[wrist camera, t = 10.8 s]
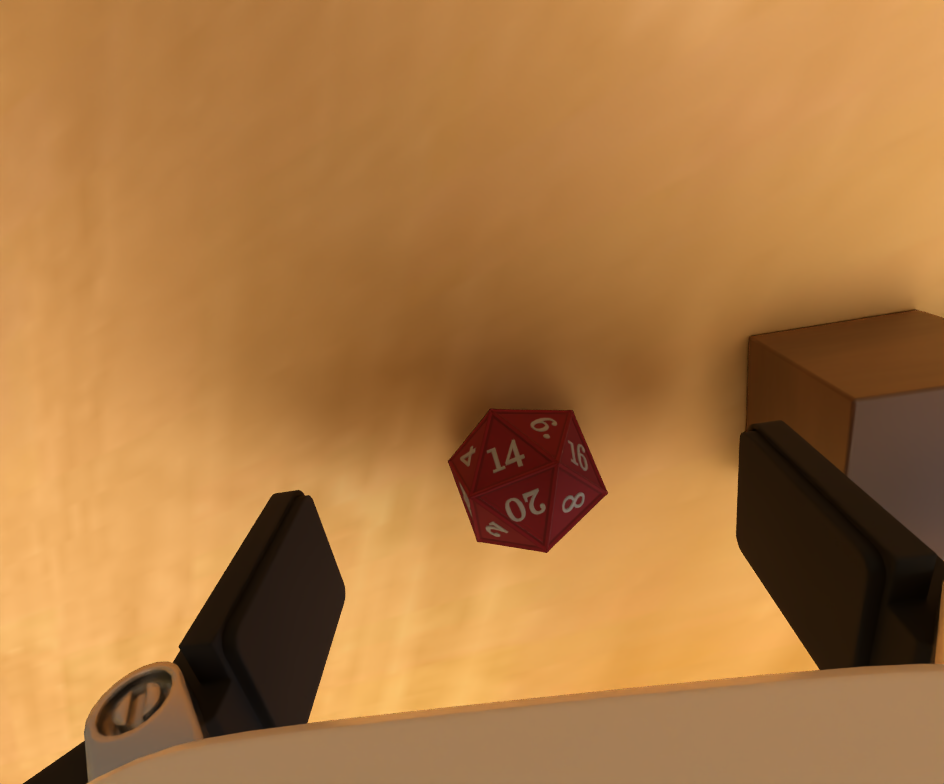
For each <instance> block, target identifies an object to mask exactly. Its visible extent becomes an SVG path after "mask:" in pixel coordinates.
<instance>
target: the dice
mask: <svg viewBox="0 0 944 784" xmlns="http://www.w3.org/2000/svg"><path fill="white" fill-rule="evenodd" d="M448 463H449V466H450V468H451V471H452V474H453V476H454V479H455V482H456V484H457V487H458V490H459V493H460V495H461V498H462V501H463V504H464V506H465V509H466V512H467V514H468V517H469V520H470V523H471V525H472V528H473V531H474V533H475V536H476V540H477V542H484V543H490V544H496V545H502V546H509V547H515V548H521V549H527V550H534V551H540V552H545V553H547V552H548V551H549V550H550V549H551V548H552V547H553V546H554V545H555V544H556V543H557V542H558V541H559V540H560V539H561V538H562V537H563V536H564V535H565V534H566V533H568V532H569V531H570V530H571V529H572V528H573V527H574V526H575V525H576V524H577V523H578V522H579V521H580V520H581V519H582V518H583V517H584V516H585V515H586V514H587V513H588V512H589V511H590V510H591V509H592V508H593V507H594V506H595V505H596V504H597V503H598V502H599V501H600V500H601V499H602V498H603V497H605V496H606V495H607V494H608V492H607V490H606V488H605V485H604V483H603V481H602V478H601V476H600V474H599V471H598V469H597V467H596V464H595V462H594V460H593V457H592V455H591V453H590V450H589V448H588V446H587V443H586V441H585V439H584V436H583V434H582V432H581V429H580V427H579V424H578V422H577V420H576V417H575V415H574V412H573V410H510V409H489V411H488V413H487V414H486V415H485V416H484V418H483V419H482V420H481V421H480V423H479V424H478V425H477V426H476V428H475V429H474V430H473V431H472V433H471V434H470V435H469V436H468V437H467V439H466V440H465V441H464V442H463V444H462V445H461V446H460V447H459V449H458V450H457V451H456V452H455V454H454V455H453V456H452V457H451V458H450V459H449V460H448Z"/></svg>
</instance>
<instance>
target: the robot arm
mask: <svg viewBox="0 0 944 784" xmlns="http://www.w3.org/2000/svg"><path fill="white" fill-rule="evenodd" d="M736 537H737V542H738V545H739V548H740V550H741V552H742V553H743V555H744V556H745V558H746V559H747V561H748V562H749V564H750V565H751V567H752V568H753V570H754V571H755V573H756V574H757V576H758V577H759V579H760V580H761V582H762V583H763V585H764V586H765V588H766V589H767V591H768V592H769V594H770V595H771V597H772V598H773V600H774V602H775V603H776V605H777V606H778V608H779V609H780V611H781V612H782V614H783V615H784V617H785V618H786V620H787V621H788V623H789V624H790V626H791V627H792V629H793V630H794V632H795V633H796V635H797V636H798V638H799V639H800V641H801V642H802V644H803V645H804V647H805V648H806V650H807V651H808V653H809V654H810V656H811V657H812V659H813V660H814V662H815V663H816V665H817V666H818V668H819V669H820V670H815V671H803V672H791V673H779V674H767V675H757V676H747V677H737V678H727V679H717V680H707V681H697V682H687V683H677V684H667V685H657V686H647V687H637V688H626V689H617V690H607V691H598V692H588V693H579V694H569V695H559V696H550V697H540V698H531V699H521V700H512V701H503V702H493V703H484V704H474V705H465V706H456V707H447V708H438V709H429V710H420V711H411V712H402V713H393V714H384V715H375V716H366V717H357V718H348V719H339V720H330V721H322V722H314V723H307V722H308V719H309V716H310V713H311V709H312V706H313V703H314V700H315V696H316V693H317V690H318V686H319V683H320V680H321V677H322V673H323V670H324V667H325V664H326V660H327V657H328V654H329V651H330V647H331V644H332V641H333V637H334V634H335V631H336V628H337V624H338V621H339V618H340V615H341V611H342V608H343V605H344V601H345V586H344V582H343V580H342V577H341V574H340V572H339V569H338V566H337V564H336V561H335V558H334V556H333V553H332V550H331V547H330V545H329V542H328V539H327V537H326V534H325V531H324V529H323V526H322V523H321V520H320V518H319V515H318V512H317V510H316V507H315V504H314V502H313V499H312V498H311V497H310V496H309V495H306V496H305V495H304V493H303V492H302V491H300V490H296V491H289V492H282V493H276V494H273V495H272V496H271V498H270V499H269V501H268V503H267V504H266V506H265V507H264V509H263V511H262V512H261V514H260V516H259V517H258V519H257V520H256V522H255V524H254V525H253V527H252V528H251V530H250V532H249V533H248V535H247V537H246V538H245V540H244V541H243V543H242V545H241V546H240V548H239V550H238V551H237V553H236V554H235V556H234V558H233V559H232V561H231V563H230V564H229V566H228V567H227V569H226V571H225V572H224V574H223V575H222V577H221V579H220V580H219V582H218V584H217V585H216V587H215V588H214V590H213V592H212V593H211V595H210V597H209V598H208V600H207V601H206V603H205V605H204V606H203V608H202V609H201V611H200V613H199V614H198V616H197V618H196V619H195V621H194V622H193V624H192V626H191V627H190V629H189V631H188V632H187V634H186V635H185V637H184V639H183V640H182V642H181V643H180V645H179V648H180V652H179V653H178V655H177V656H176V658H175V660H174V661H173V663H171V662H156V663H152V664H149V665H146V666H143V667H141V668H139V669H137V670H135V671H133V672H131V673H129V674H128V675H126V676H125V677H124V678H122V679H121V680H119V681H118V682H116V683H115V684H114V685H113V686H112V687H111V688H110V689H109V690H108V691H107V692H106V693H104V694H103V695H102V697H101V698H100V699H99V701H98V702H97V703H96V704H95V706H94V707H93V708H92V710H91V712H90V714H89V716H88V718H87V720H86V724H85V731H84V737H85V741H84V742H82V743H81V744H79V745H78V746H76V747H75V748H74V749H72V750H71V751H69V752H68V753H66V754H65V755H64V756H62V757H61V758H59V759H58V760H56V761H55V762H53V763H52V764H51V765H49V766H48V767H46V768H45V769H43V770H42V771H41V772H39V773H38V774H36V775H35V776H33V777H32V778H30V779H29V780H28V781H26V782H25V783H23V784H944V561H943V560H942V559H941V558H940V557H939V556H937V554H936V553H935V552H934V551H933V550H932V549H930V548H929V547H928V546H927V545H926V544H925V543H923V542H922V541H921V540H920V539H919V538H918V537H917V536H915V535H914V534H913V533H912V532H911V531H910V530H908V529H907V528H906V527H905V526H904V525H903V524H902V523H900V522H899V521H898V520H897V519H896V518H895V517H893V516H892V515H891V514H890V513H889V512H888V511H887V510H885V509H884V508H883V507H882V506H881V505H880V504H878V503H877V502H876V501H875V500H874V499H873V498H872V497H870V496H869V495H868V494H867V493H866V492H865V491H863V490H862V489H861V488H860V487H859V486H858V485H857V484H855V483H854V482H853V481H852V480H851V479H850V478H848V477H847V476H846V475H845V474H844V473H843V472H842V471H840V470H839V469H838V468H837V467H836V466H835V465H833V464H832V463H831V462H830V461H829V460H828V459H827V458H825V457H824V456H823V455H822V454H821V453H820V452H818V451H817V450H816V449H815V448H814V447H813V446H812V445H810V444H809V443H808V442H807V441H806V440H805V439H803V438H802V437H801V436H800V435H799V434H798V433H796V432H795V431H794V430H793V429H792V428H791V427H790V426H788V425H787V424H786V423H785V422H783V421H782V420H776V421H769V422H762V423H755V424H751V425H750V426H749V428H748V431H747V432H743V433H741V435H740V444H739V471H738V497H737V524H736Z"/></svg>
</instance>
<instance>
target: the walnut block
mask: <svg viewBox="0 0 944 784" xmlns="http://www.w3.org/2000/svg"><path fill="white" fill-rule="evenodd" d="M776 420H782V421H783V422H785V423H786V424H787V425H788V426H790V427H791V428H792V429H793V430H794V431H795V432H796V433H798V434H799V435H800V436H801V437H802V438H803V439H805V440H806V441H807V442H808V443H809V444H810V445H812V446H813V447H814V448H815V449H816V450H817V451H818V452H820V453H821V454H822V455H823V456H824V457H825V458H827V459H828V460H829V461H830V462H831V463H832V464H833V465H835V466H836V467H837V468H838V469H839V470H840V471H842V472H843V473H844V474H845V475H846V476H847V477H848V478H850V479H851V480H852V481H853V482H854V483H855V484H857V485H858V486H859V487H860V488H861V489H862V490H863V491H865V492H866V493H867V494H868V495H869V496H870V497H872V498H873V499H874V500H875V501H876V502H877V503H878V504H880V505H881V506H882V507H883V508H884V509H885V510H887V511H888V512H889V513H890V514H891V515H892V516H893V517H895V518H896V519H897V520H898V521H899V522H900V523H902V524H903V525H904V526H905V527H906V528H907V529H908V530H910V531H911V532H912V533H913V534H914V535H915V536H917V537H918V538H919V539H920V540H921V541H922V542H923V543H925V544H926V545H927V546H928V547H929V548H930V549H932V550H933V551H934V552H935V553H936V554H937V556H939V557H940V558H941V559H942V560H944V318H942V317H939V316H936V315H933V314H929V313H926V312H923V311H920V310H913V311H907V312H901V313H895V314H888V315H882V316H876V317H869V318H863V319H857V320H851V321H844V322H838V323H832V324H825V325H819V326H813V327H807V328H800V329H794V330H788V331H782V332H775V333H769V334H763V335H756V336H751V337H750V338H749V361H748V399H747V431H748V428H749V426H750V425H751V424H755V423H762V422H769V421H776Z"/></svg>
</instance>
